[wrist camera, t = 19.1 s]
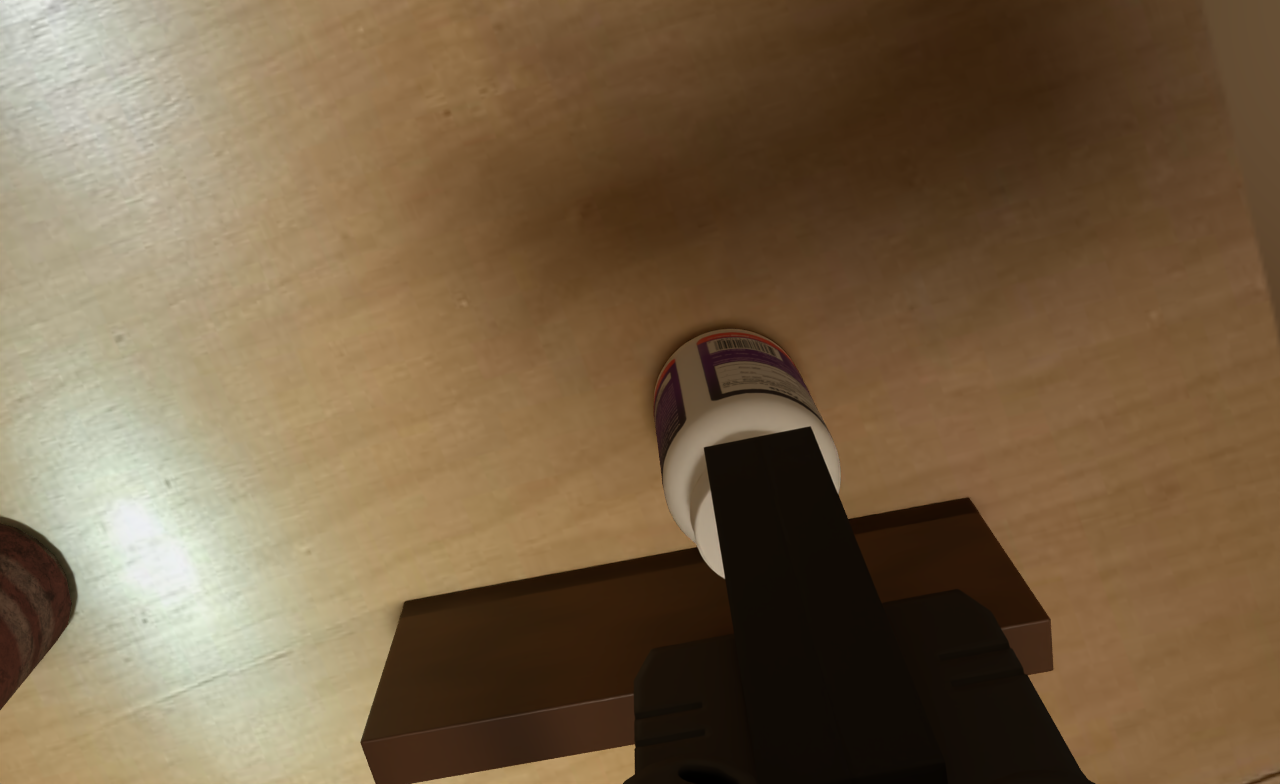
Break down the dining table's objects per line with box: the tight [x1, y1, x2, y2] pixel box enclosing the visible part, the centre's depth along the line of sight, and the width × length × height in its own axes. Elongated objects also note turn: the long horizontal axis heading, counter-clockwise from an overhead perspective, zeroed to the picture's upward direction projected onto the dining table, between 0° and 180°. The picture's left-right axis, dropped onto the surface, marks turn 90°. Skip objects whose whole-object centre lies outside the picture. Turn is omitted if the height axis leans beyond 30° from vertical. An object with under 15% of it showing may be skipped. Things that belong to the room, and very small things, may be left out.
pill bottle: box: [654, 329, 841, 579], centre depth 34 cm, size 5×5×10 cm
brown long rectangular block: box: [361, 498, 1053, 784], centre depth 38 cm, size 22×6×8 cm, turn 101°
